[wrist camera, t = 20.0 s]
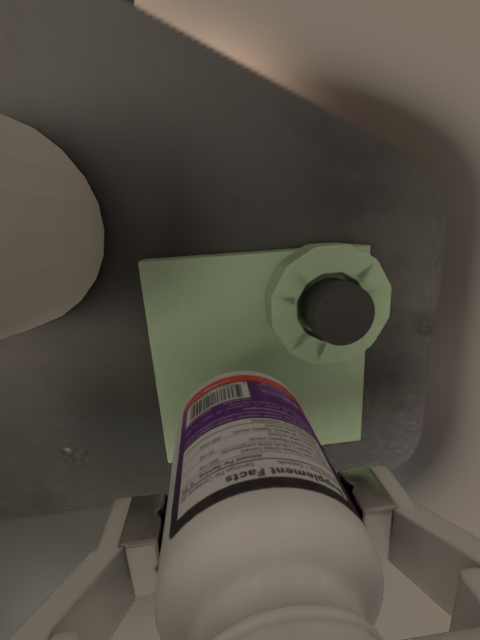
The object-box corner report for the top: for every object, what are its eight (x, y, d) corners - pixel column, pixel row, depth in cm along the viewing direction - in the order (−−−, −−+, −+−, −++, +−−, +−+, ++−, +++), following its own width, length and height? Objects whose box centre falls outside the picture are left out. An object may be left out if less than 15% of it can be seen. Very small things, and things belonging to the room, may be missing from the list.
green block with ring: (142, 253, 16) (128, 259, 13) (362, 238, 17) (395, 240, 14) (170, 447, 19) (164, 486, 16) (354, 425, 20) (379, 459, 17)
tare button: (300, 280, 14) (313, 287, 13) (357, 275, 14) (377, 282, 13) (301, 335, 15) (313, 348, 13) (355, 330, 15) (373, 343, 13)
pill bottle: (277, 483, 15) (392, 891, 6) (164, 462, 14) (86, 911, 5) (318, 382, 14) (548, 700, 5) (197, 352, 13) (174, 676, 4)
